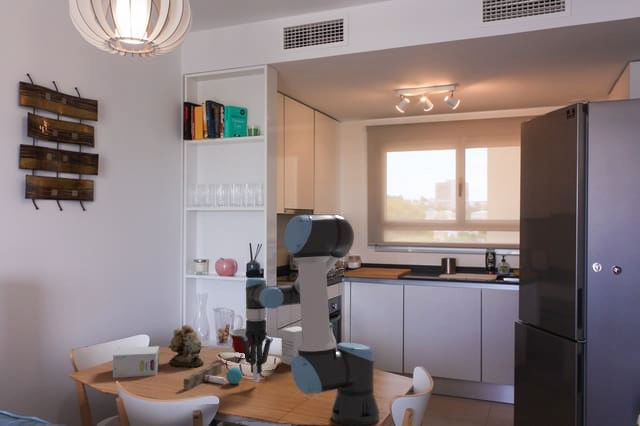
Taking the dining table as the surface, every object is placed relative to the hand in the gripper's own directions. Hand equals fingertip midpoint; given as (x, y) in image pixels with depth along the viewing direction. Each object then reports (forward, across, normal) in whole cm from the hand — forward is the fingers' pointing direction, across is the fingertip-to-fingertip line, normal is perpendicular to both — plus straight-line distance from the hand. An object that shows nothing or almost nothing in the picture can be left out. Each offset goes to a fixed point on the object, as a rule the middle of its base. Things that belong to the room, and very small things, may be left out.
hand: (256, 381), depth 205 cm
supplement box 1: (+2, +56, -2) cm, 56 cm away
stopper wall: (+2, +23, 0) cm, 23 cm away
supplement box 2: (+2, -1, -36) cm, 36 cm away
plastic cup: (+2, +26, -37) cm, 45 cm away
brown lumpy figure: (+2, +44, -19) cm, 48 cm away
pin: (+1, +13, +1) cm, 13 cm away
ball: (-1, +10, -1) cm, 10 cm away
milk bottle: (+2, -19, -27) cm, 33 cm away
